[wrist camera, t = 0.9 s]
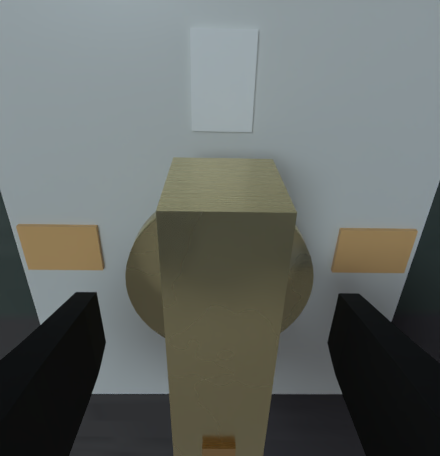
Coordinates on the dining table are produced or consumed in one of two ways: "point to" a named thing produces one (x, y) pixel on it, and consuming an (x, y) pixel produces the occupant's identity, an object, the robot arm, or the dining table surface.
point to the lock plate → (218, 147)
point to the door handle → (220, 296)
